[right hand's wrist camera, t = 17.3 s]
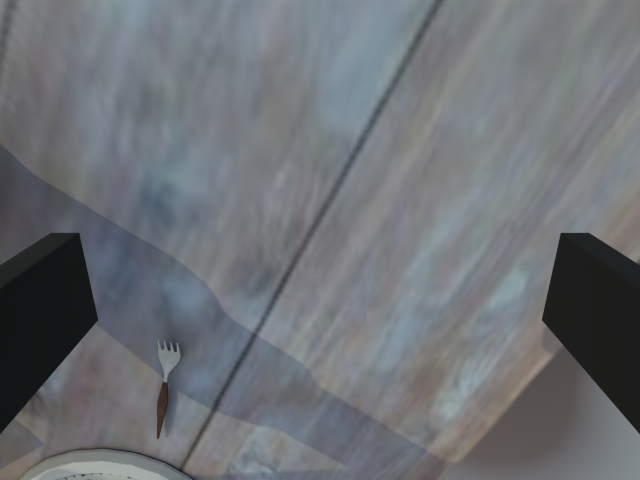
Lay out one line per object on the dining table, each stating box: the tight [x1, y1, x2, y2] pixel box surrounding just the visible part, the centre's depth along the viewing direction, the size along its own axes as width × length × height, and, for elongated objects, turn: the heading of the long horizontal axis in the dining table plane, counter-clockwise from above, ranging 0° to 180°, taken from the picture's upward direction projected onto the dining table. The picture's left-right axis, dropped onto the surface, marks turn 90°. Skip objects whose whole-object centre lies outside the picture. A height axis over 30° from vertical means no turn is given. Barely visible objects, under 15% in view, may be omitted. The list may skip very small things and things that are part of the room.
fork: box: [157, 339, 181, 439], centre depth 52 cm, size 3×16×2 cm, turn 167°
